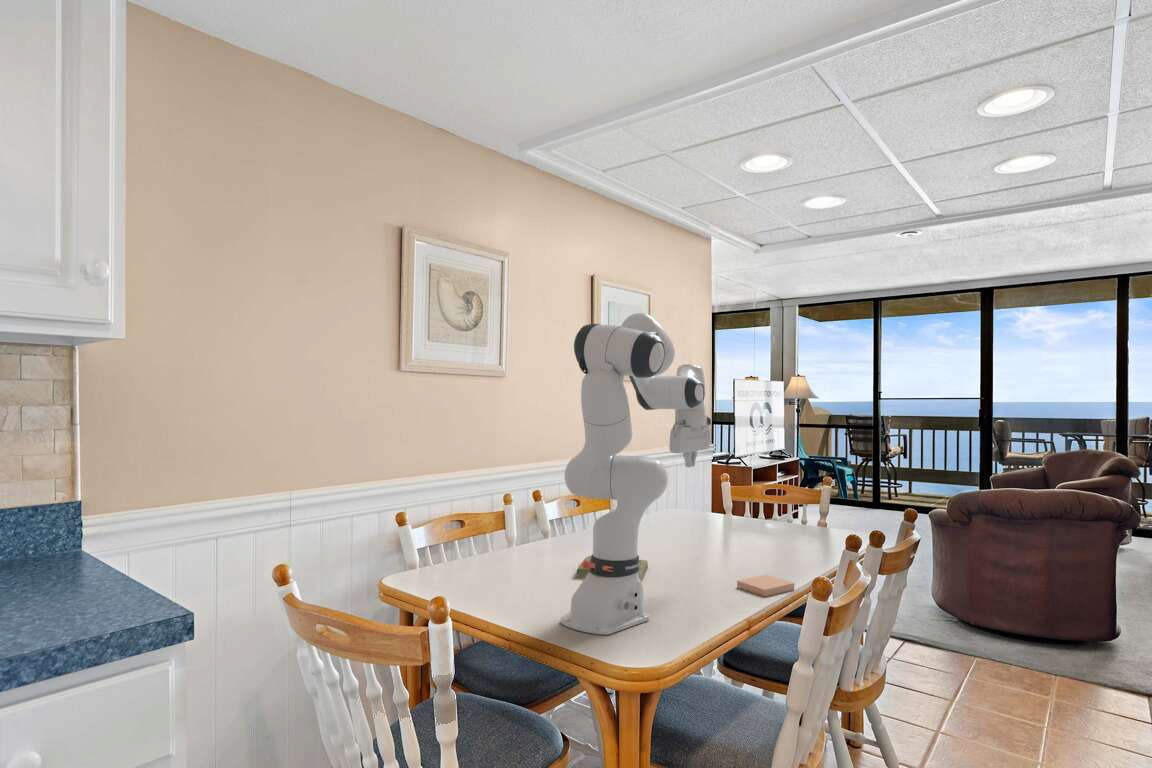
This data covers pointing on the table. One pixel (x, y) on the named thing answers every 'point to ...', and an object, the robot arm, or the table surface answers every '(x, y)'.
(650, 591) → the table surface
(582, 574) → the decorative tile
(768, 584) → the glazed tile
